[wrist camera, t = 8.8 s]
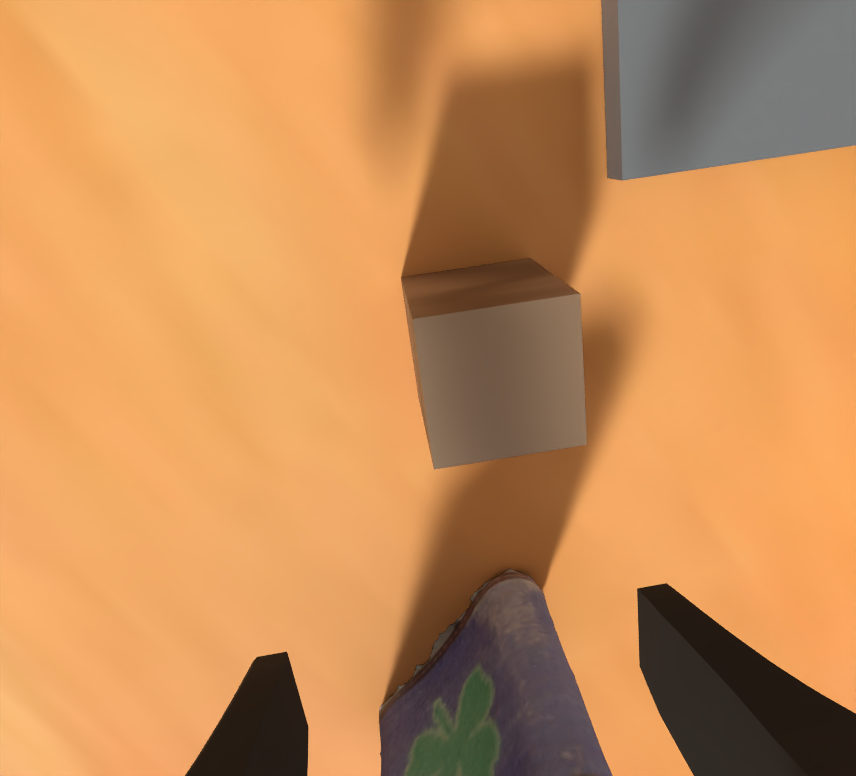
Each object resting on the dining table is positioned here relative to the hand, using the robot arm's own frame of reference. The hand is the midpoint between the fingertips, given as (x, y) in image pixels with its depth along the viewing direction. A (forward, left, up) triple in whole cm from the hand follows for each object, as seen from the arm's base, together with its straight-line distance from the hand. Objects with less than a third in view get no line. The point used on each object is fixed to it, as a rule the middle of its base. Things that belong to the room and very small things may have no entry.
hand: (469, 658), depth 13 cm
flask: (0, +9, -10) cm, 13 cm away
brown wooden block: (-2, -4, -10) cm, 10 cm away
